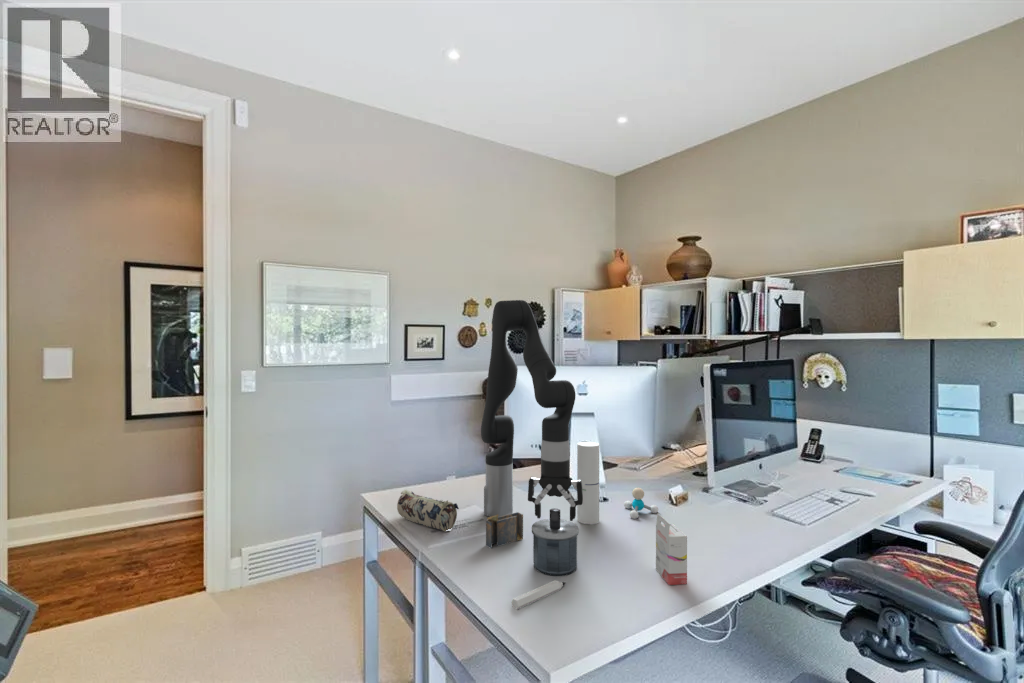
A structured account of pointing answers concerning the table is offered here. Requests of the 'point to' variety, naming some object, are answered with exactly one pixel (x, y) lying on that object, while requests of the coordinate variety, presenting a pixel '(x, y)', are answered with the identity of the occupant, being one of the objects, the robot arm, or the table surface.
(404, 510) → the pencil case
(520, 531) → the weathered rectangular holder
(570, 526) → the lid
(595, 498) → the cylindrical container
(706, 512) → the table surface
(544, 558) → the pot
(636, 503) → the molecule model
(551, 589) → the marker
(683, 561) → the ink cartridge box
